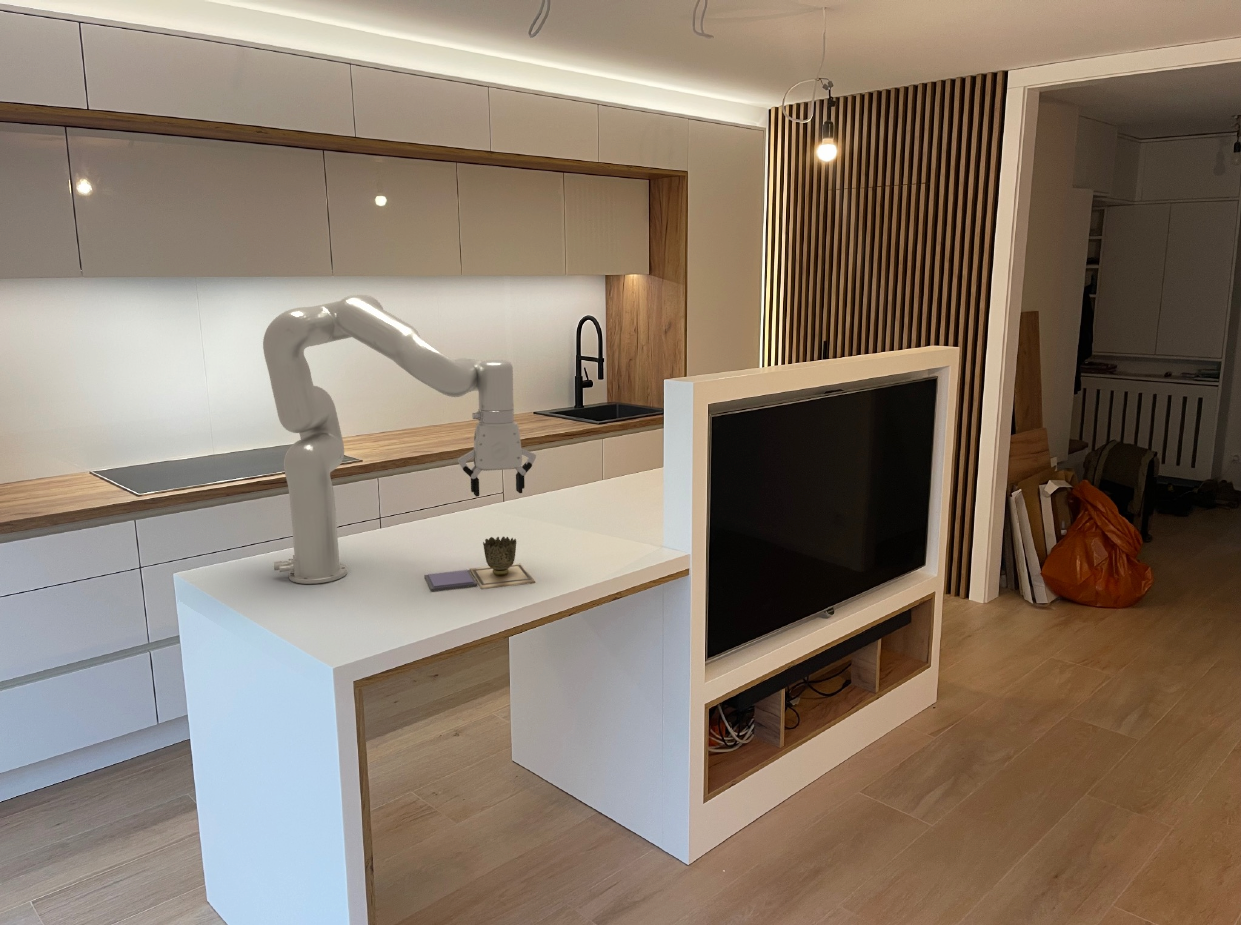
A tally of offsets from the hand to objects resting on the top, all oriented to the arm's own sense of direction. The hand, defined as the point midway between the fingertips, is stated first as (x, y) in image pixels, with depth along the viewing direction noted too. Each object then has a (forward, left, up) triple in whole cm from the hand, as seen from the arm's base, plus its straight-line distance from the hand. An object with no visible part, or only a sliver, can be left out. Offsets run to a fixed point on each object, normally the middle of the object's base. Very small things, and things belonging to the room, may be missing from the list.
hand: (498, 493), depth 206 cm
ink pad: (-11, 0, -19) cm, 22 cm away
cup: (0, 0, -19) cm, 19 cm away
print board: (0, 0, -19) cm, 19 cm away
